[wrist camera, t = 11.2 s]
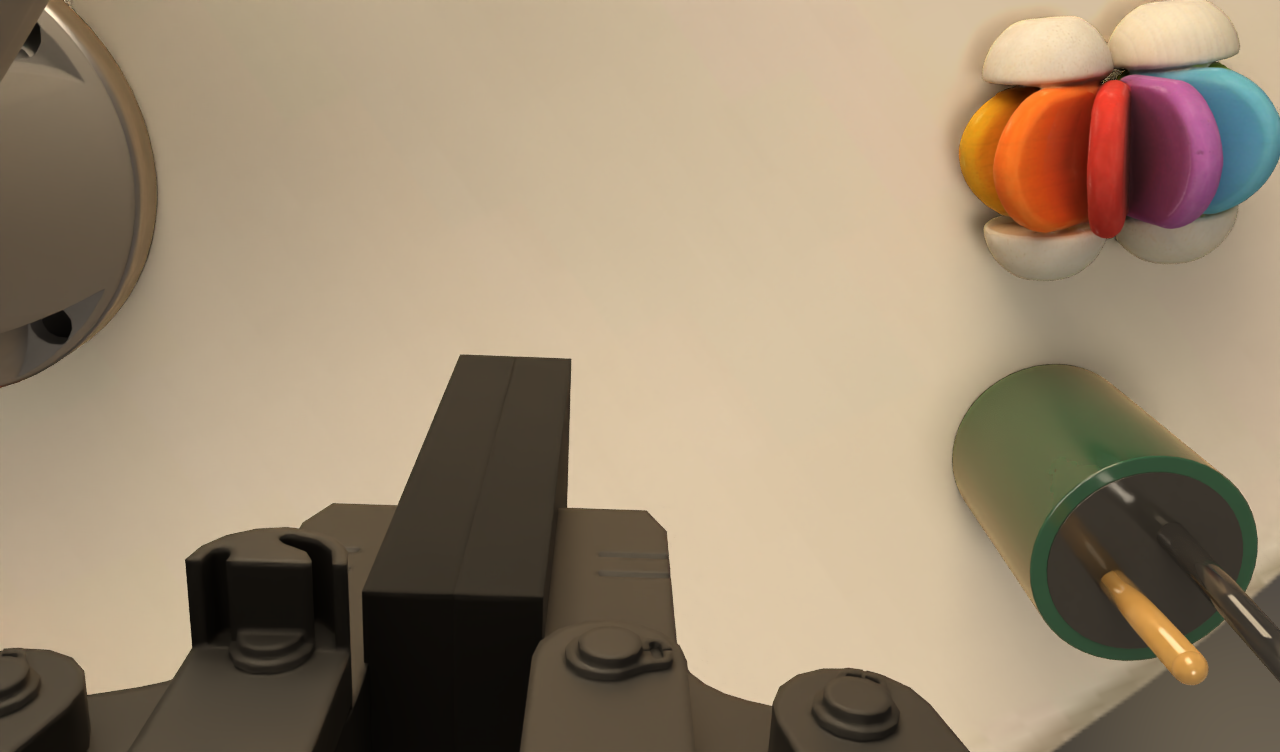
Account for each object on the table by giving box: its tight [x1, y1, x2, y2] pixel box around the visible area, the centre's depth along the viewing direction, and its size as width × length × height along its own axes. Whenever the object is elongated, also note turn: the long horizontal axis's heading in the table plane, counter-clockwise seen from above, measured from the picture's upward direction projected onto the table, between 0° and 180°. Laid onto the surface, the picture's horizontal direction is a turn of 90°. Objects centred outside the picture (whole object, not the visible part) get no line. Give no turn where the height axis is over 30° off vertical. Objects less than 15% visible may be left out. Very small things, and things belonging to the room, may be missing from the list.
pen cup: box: [952, 364, 1280, 685], centre depth 37 cm, size 7×7×16 cm
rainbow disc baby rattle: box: [959, 0, 1280, 281], centre depth 38 cm, size 8×10×7 cm
